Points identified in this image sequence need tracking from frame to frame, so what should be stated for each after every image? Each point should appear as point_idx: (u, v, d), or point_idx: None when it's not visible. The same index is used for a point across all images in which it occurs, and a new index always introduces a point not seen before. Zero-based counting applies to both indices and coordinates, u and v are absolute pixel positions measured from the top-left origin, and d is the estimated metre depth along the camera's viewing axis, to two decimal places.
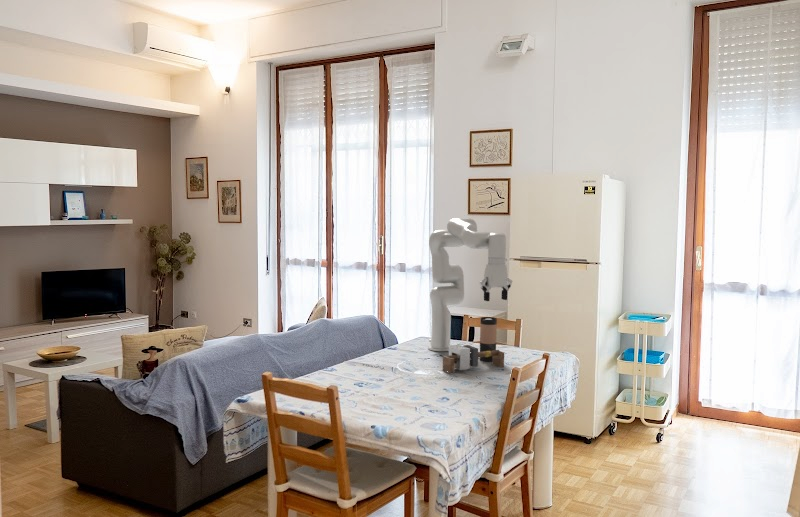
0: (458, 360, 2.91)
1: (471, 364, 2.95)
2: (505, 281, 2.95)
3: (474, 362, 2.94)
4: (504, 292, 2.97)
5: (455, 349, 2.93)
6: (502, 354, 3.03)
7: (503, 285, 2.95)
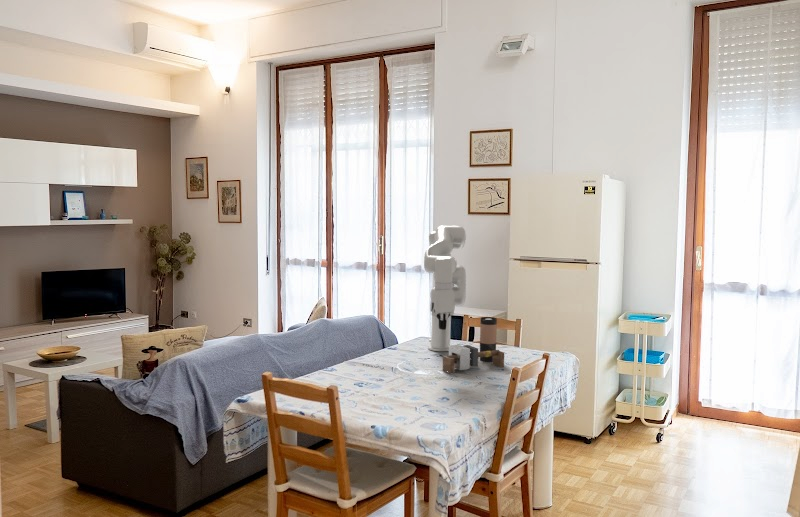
0: (458, 360, 2.91)
1: (471, 364, 2.95)
2: (452, 307, 2.88)
3: (474, 362, 2.94)
4: None
5: (455, 349, 2.93)
6: (502, 354, 3.03)
7: (450, 311, 2.88)
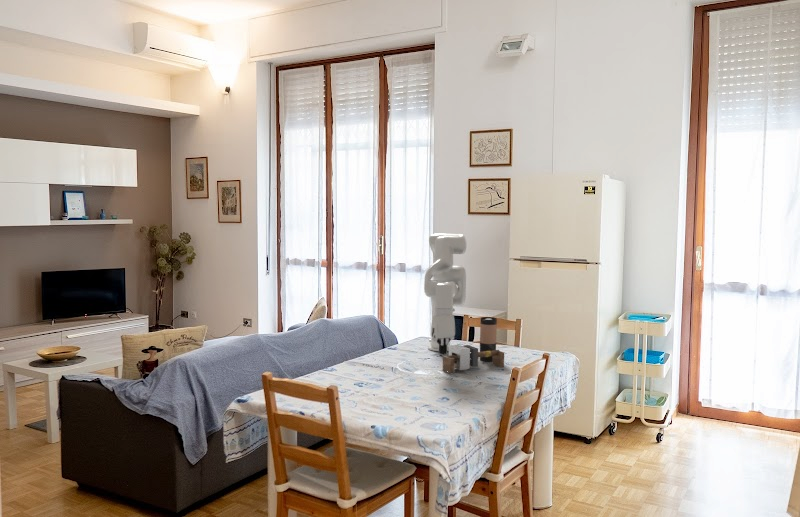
0: (458, 360, 2.91)
1: (471, 364, 2.95)
2: (452, 332, 2.90)
3: (474, 362, 2.94)
4: None
5: (455, 349, 2.93)
6: (502, 354, 3.03)
7: (450, 336, 2.89)
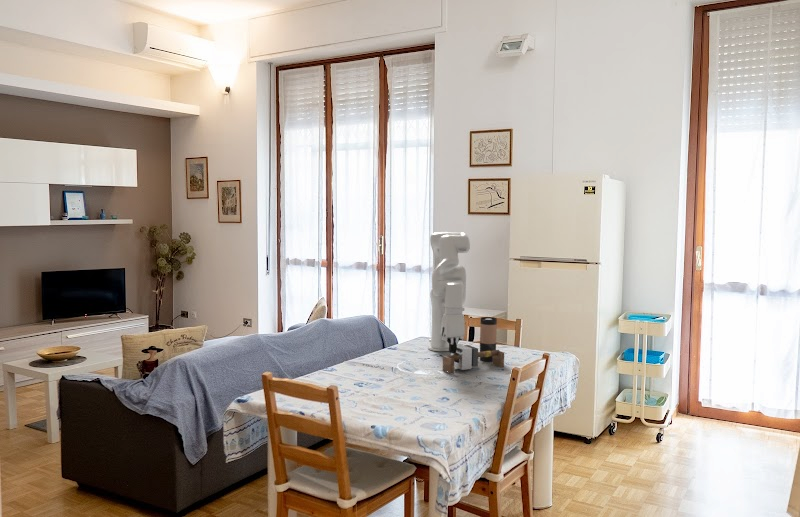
0: (460, 360, 2.91)
1: None
2: (462, 331, 2.92)
3: (474, 362, 2.94)
4: None
5: (457, 349, 2.93)
6: (502, 354, 3.03)
7: (460, 335, 2.92)
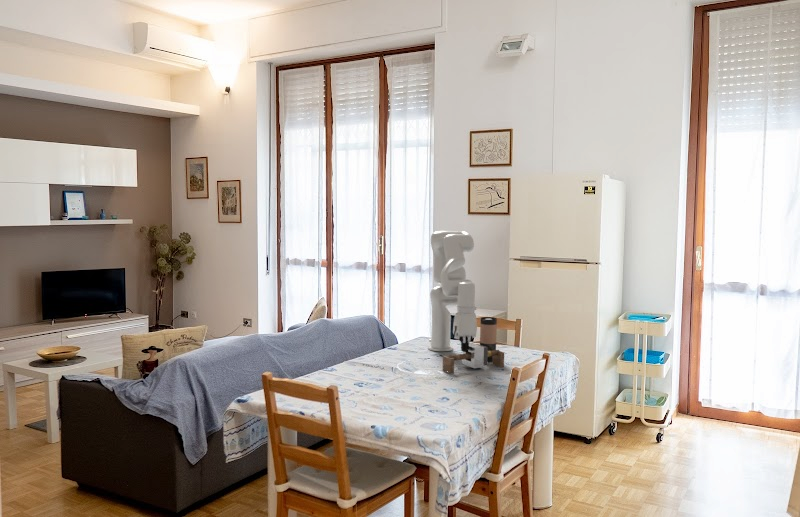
0: (472, 358, 2.95)
1: None
2: (474, 330, 2.95)
3: (484, 361, 2.97)
4: None
5: (469, 347, 2.96)
6: (502, 354, 3.03)
7: (472, 334, 2.95)
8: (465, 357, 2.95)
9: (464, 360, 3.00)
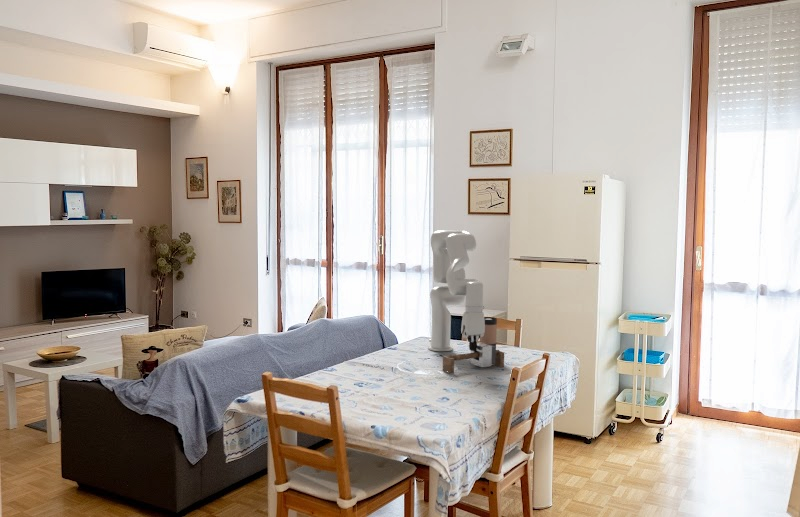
0: (480, 357, 2.97)
1: None
2: (482, 329, 2.97)
3: (492, 360, 2.99)
4: None
5: (477, 347, 2.98)
6: (502, 354, 3.03)
7: (480, 333, 2.97)
8: (465, 357, 2.95)
9: (472, 359, 3.02)
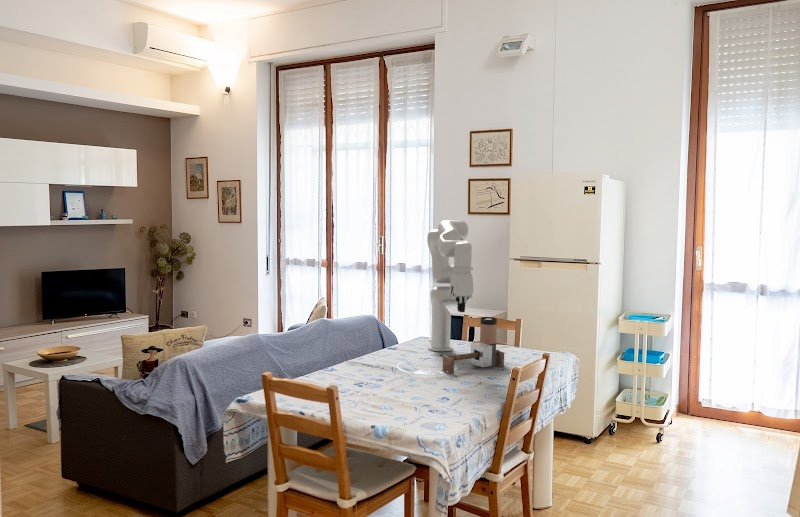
0: (480, 357, 2.97)
1: None
2: (471, 290, 2.96)
3: (492, 360, 2.99)
4: None
5: (477, 347, 2.99)
6: (502, 354, 3.03)
7: (469, 294, 2.96)
8: (465, 357, 2.95)
9: (472, 359, 3.02)
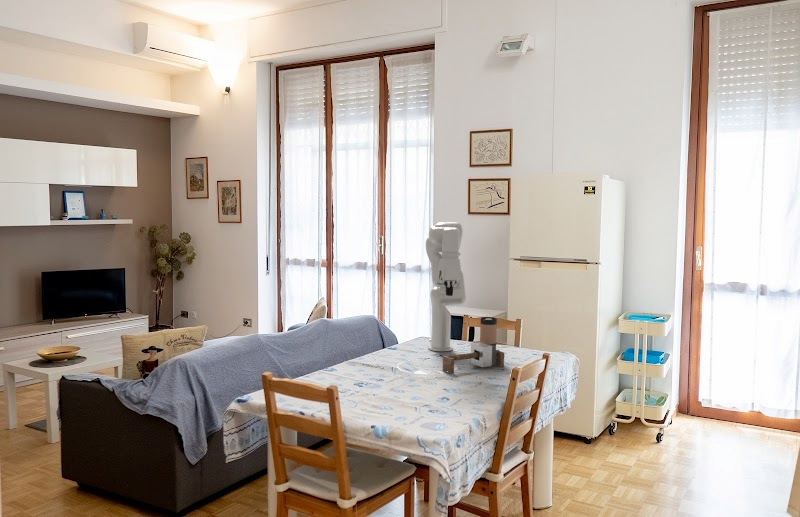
0: (480, 357, 2.97)
1: None
2: (458, 274, 3.07)
3: (492, 360, 2.99)
4: None
5: (477, 347, 2.99)
6: (502, 354, 3.03)
7: (456, 278, 3.07)
8: (465, 357, 2.95)
9: (472, 359, 3.02)
